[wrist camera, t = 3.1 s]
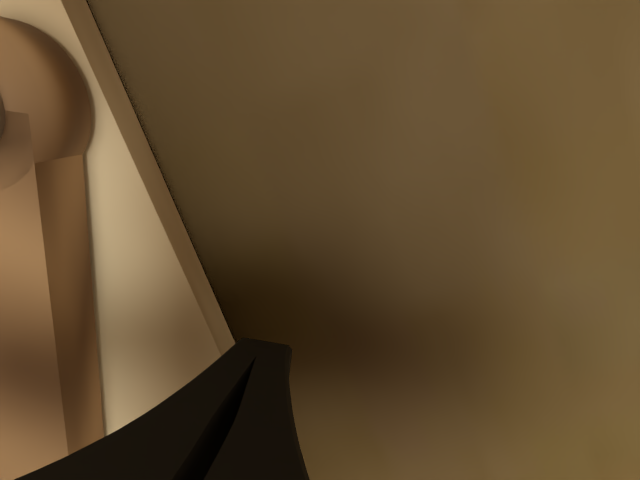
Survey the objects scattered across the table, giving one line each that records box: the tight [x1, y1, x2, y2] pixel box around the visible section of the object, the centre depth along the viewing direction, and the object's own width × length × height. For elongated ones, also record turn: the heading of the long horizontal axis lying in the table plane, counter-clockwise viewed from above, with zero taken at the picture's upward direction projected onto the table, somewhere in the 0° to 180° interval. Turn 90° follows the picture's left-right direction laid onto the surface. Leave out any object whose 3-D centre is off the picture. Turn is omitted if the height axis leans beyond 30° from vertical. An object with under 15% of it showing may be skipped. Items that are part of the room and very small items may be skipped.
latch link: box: [0, 16, 104, 480], centre depth 10 cm, size 15×4×2 cm, turn 173°
